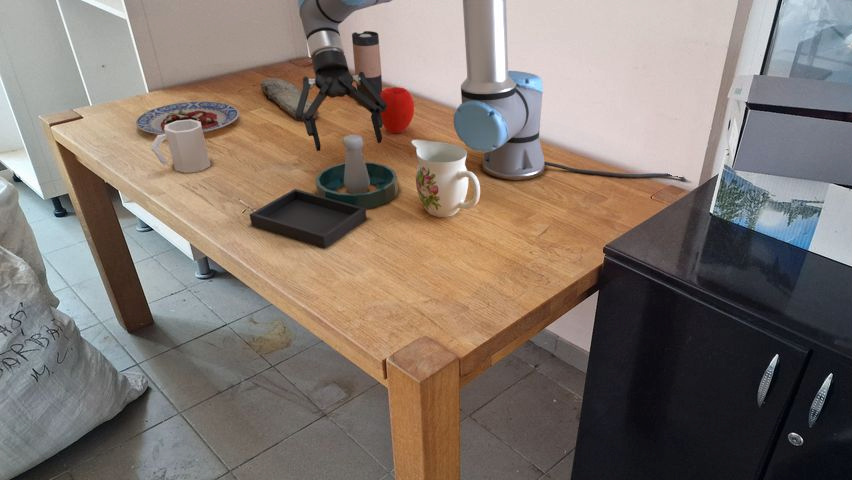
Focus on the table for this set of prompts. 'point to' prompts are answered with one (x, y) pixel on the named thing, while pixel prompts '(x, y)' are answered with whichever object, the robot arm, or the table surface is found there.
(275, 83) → the elongated rock
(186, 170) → the mug
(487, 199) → the table surface
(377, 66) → the travel mug
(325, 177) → the teal ring
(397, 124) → the red vase
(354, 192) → the salt shaker
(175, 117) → the ceramic plate
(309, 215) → the tray
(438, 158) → the pitcher
